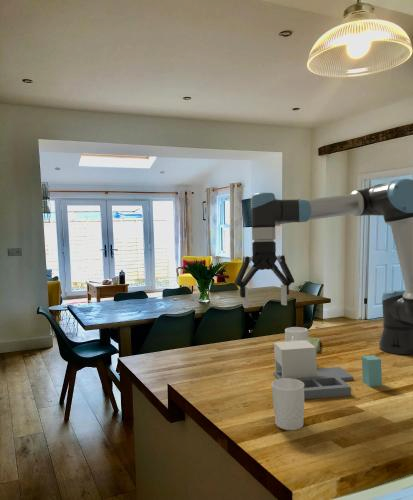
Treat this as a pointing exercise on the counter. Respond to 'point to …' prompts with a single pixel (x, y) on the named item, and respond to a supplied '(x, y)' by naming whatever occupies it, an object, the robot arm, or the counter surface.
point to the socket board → (324, 387)
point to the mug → (296, 334)
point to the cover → (295, 359)
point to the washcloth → (315, 343)
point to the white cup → (288, 403)
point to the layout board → (326, 373)
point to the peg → (371, 370)
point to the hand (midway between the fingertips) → (265, 306)
